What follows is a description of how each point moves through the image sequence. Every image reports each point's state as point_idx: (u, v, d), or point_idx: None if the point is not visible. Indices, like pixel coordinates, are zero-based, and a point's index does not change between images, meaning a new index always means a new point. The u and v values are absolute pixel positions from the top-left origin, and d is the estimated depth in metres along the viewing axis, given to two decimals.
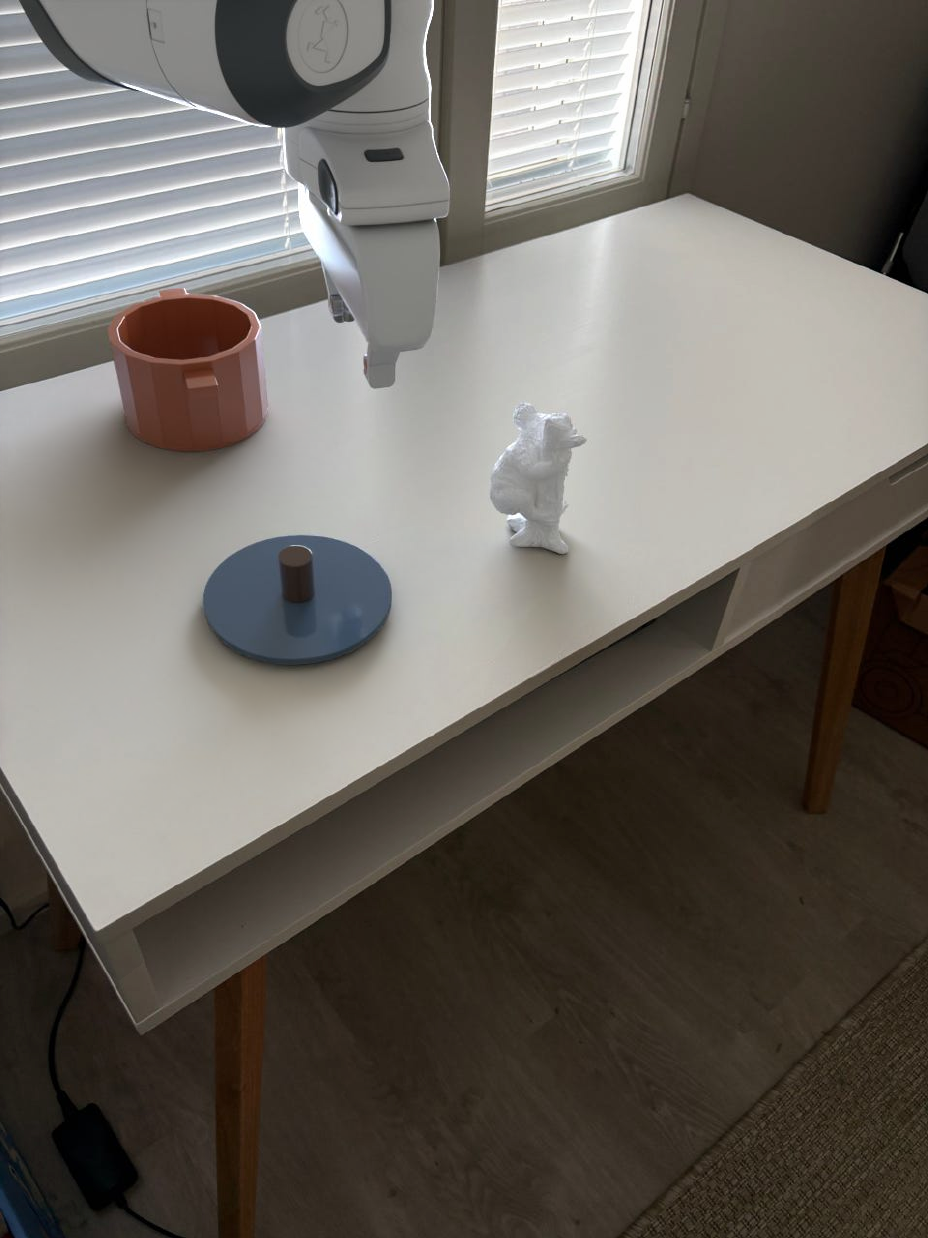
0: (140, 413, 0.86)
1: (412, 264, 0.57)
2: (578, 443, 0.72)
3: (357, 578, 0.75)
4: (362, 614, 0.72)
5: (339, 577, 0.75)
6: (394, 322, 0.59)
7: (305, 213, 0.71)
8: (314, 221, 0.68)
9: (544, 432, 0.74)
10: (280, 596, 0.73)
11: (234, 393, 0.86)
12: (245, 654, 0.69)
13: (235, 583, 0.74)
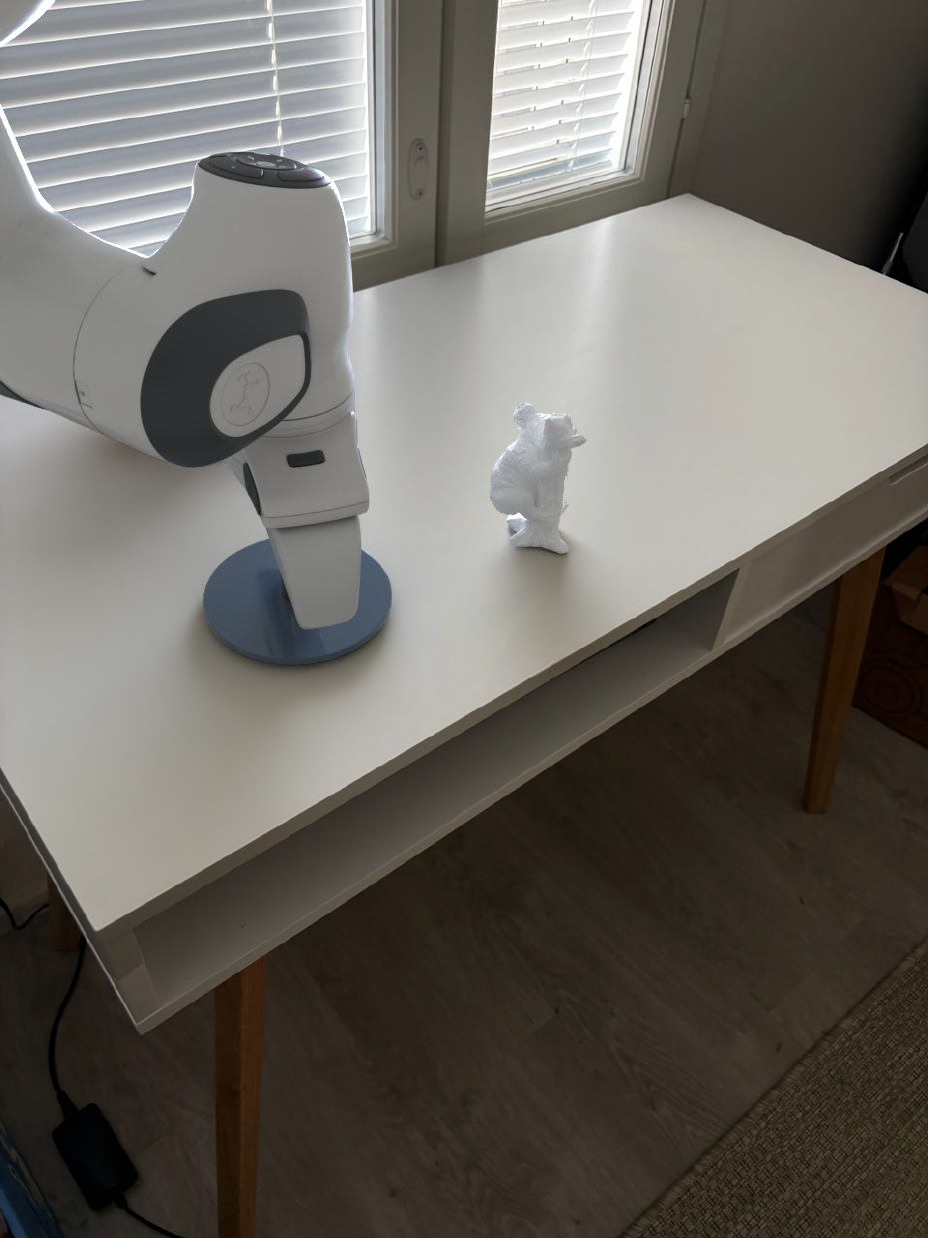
0: None
1: (334, 558, 0.60)
2: (578, 443, 0.72)
3: None
4: (362, 614, 0.72)
5: None
6: (318, 607, 0.62)
7: None
8: None
9: (544, 432, 0.74)
10: (280, 596, 0.73)
11: None
12: (245, 654, 0.69)
13: (235, 583, 0.74)
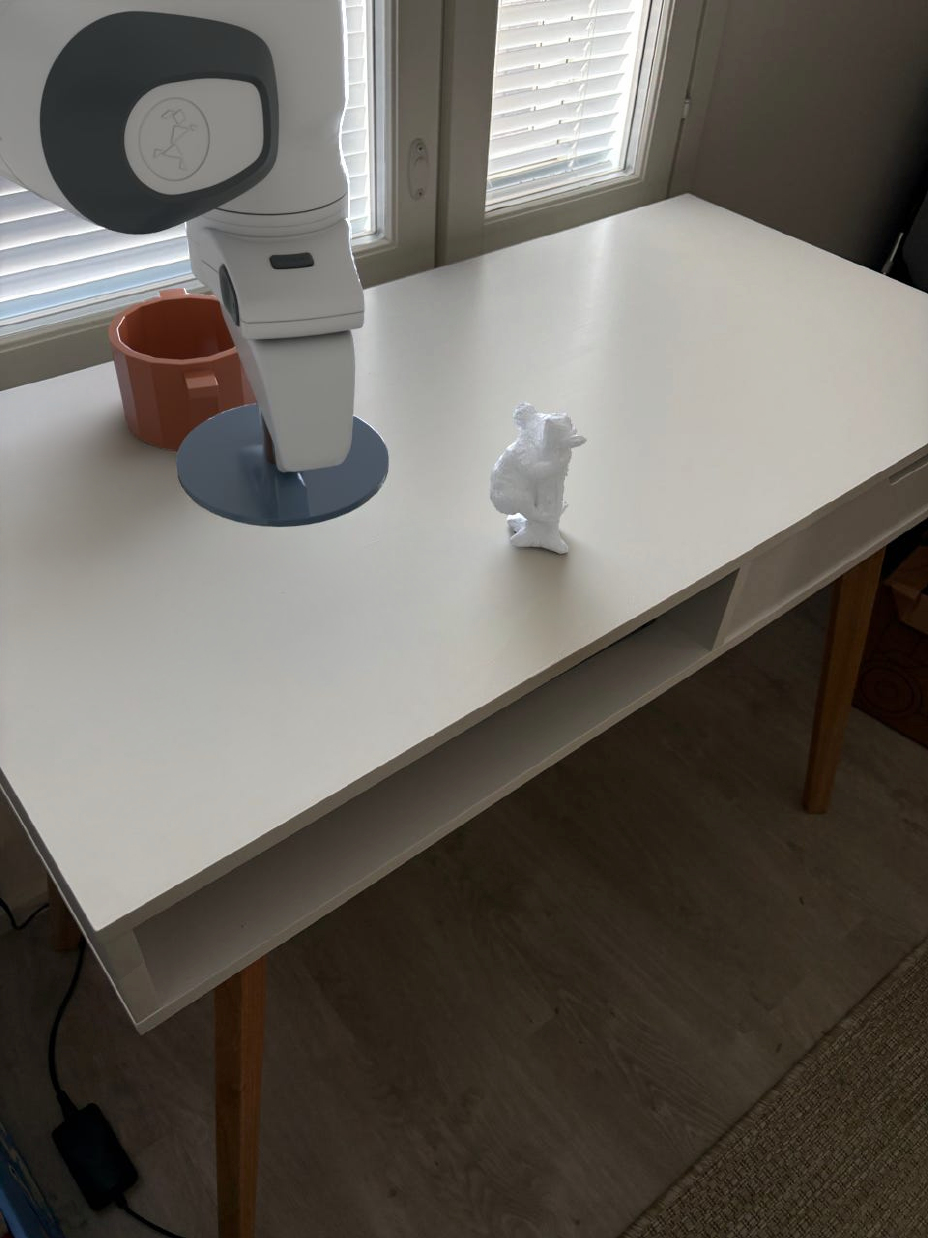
0: (140, 413, 0.86)
1: (324, 380, 0.52)
2: (578, 443, 0.72)
3: None
4: (355, 477, 0.64)
5: None
6: (305, 441, 0.53)
7: None
8: None
9: (544, 432, 0.74)
10: (263, 459, 0.65)
11: (234, 393, 0.86)
12: (222, 515, 0.61)
13: (212, 445, 0.66)
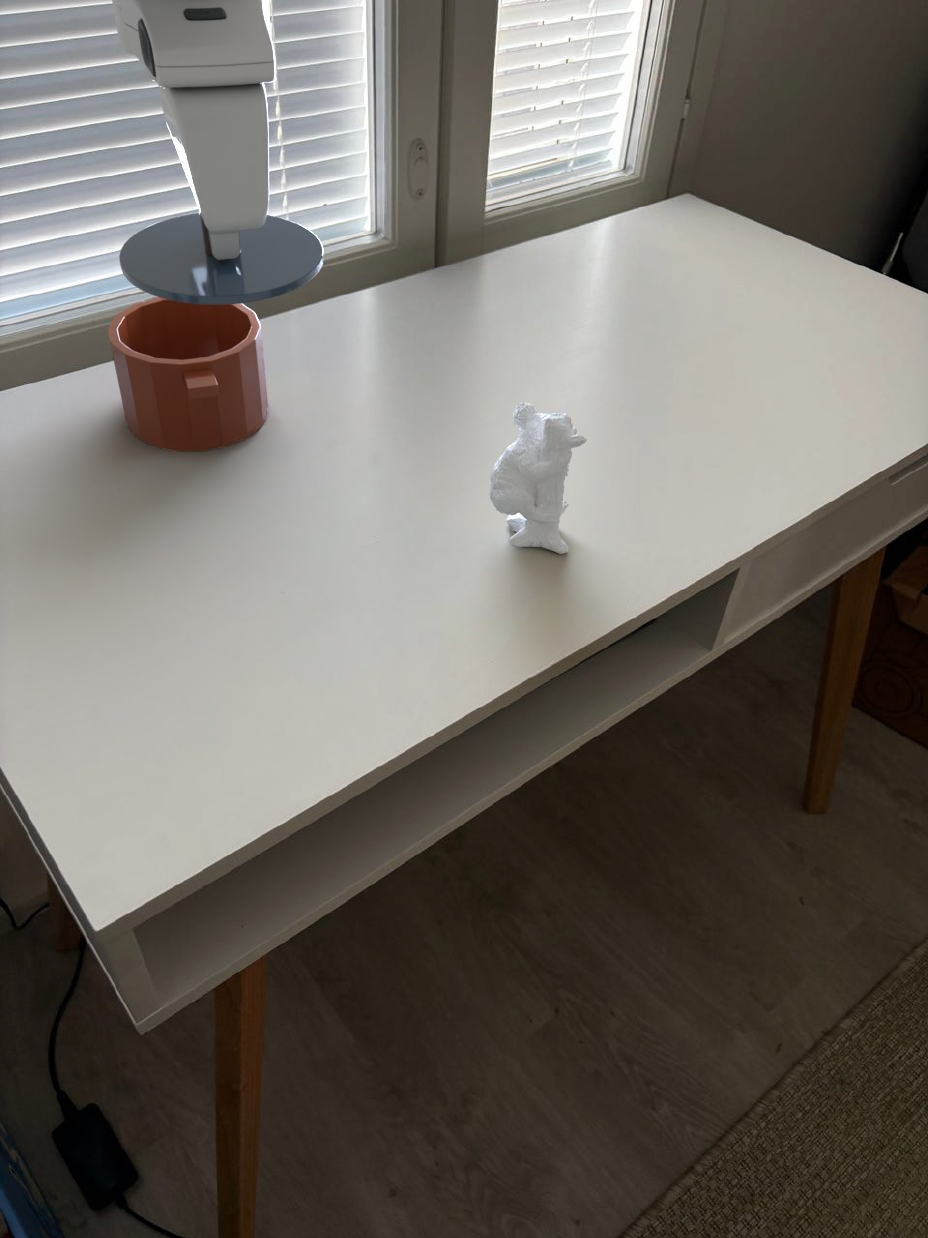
0: (140, 413, 0.86)
1: (237, 130, 0.55)
2: (578, 443, 0.72)
3: (287, 242, 0.70)
4: (289, 267, 0.67)
5: (268, 241, 0.70)
6: (223, 195, 0.57)
7: (164, 103, 0.68)
8: (168, 108, 0.66)
9: (544, 432, 0.74)
10: (203, 252, 0.68)
11: (234, 393, 0.86)
12: (159, 294, 0.65)
13: (155, 242, 0.69)
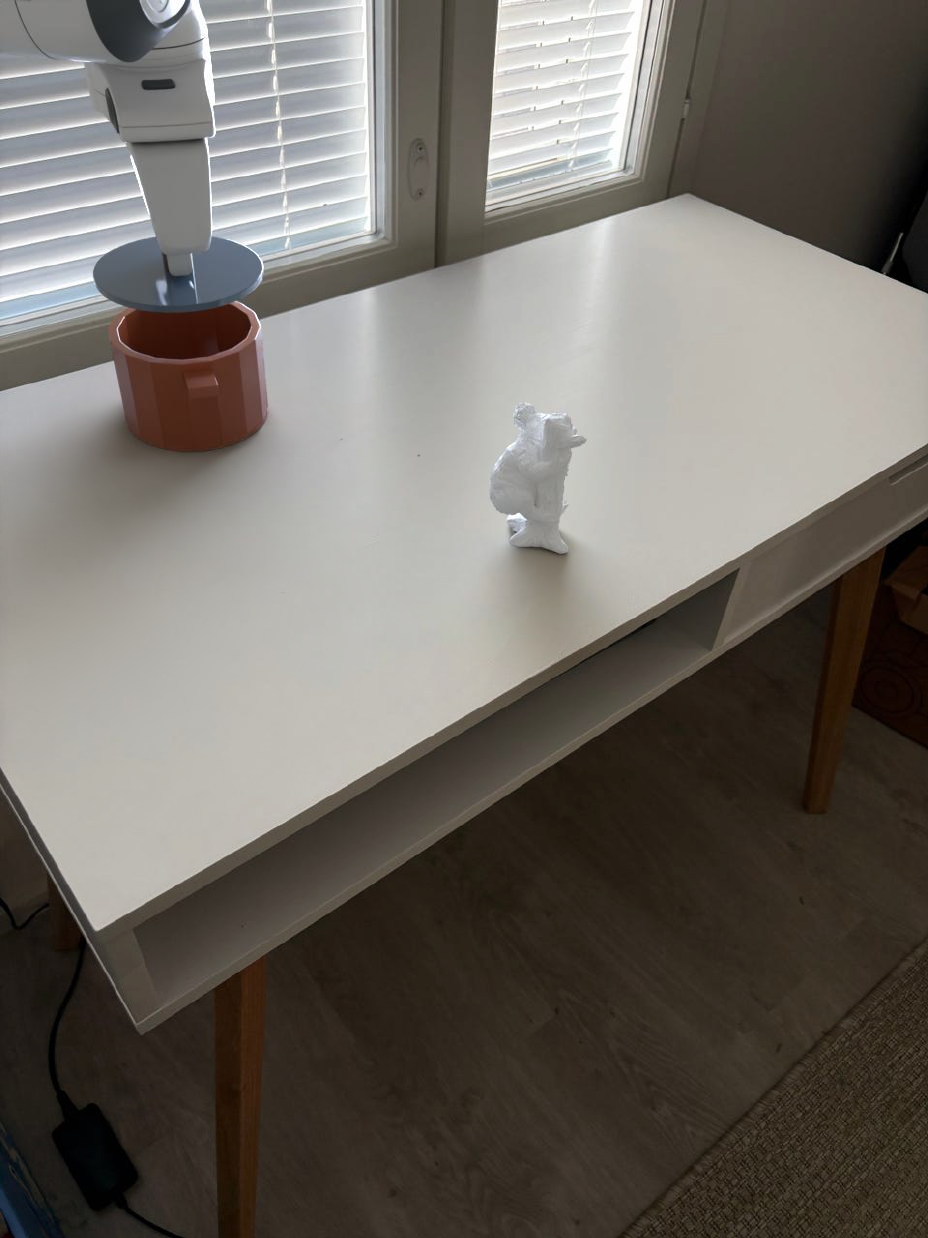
0: (140, 413, 0.86)
1: (185, 176, 0.69)
2: (578, 443, 0.72)
3: (233, 260, 0.85)
4: (233, 281, 0.82)
5: (217, 259, 0.84)
6: (174, 226, 0.71)
7: None
8: None
9: (544, 432, 0.74)
10: (162, 269, 0.83)
11: (234, 393, 0.86)
12: (125, 304, 0.79)
13: (123, 260, 0.83)
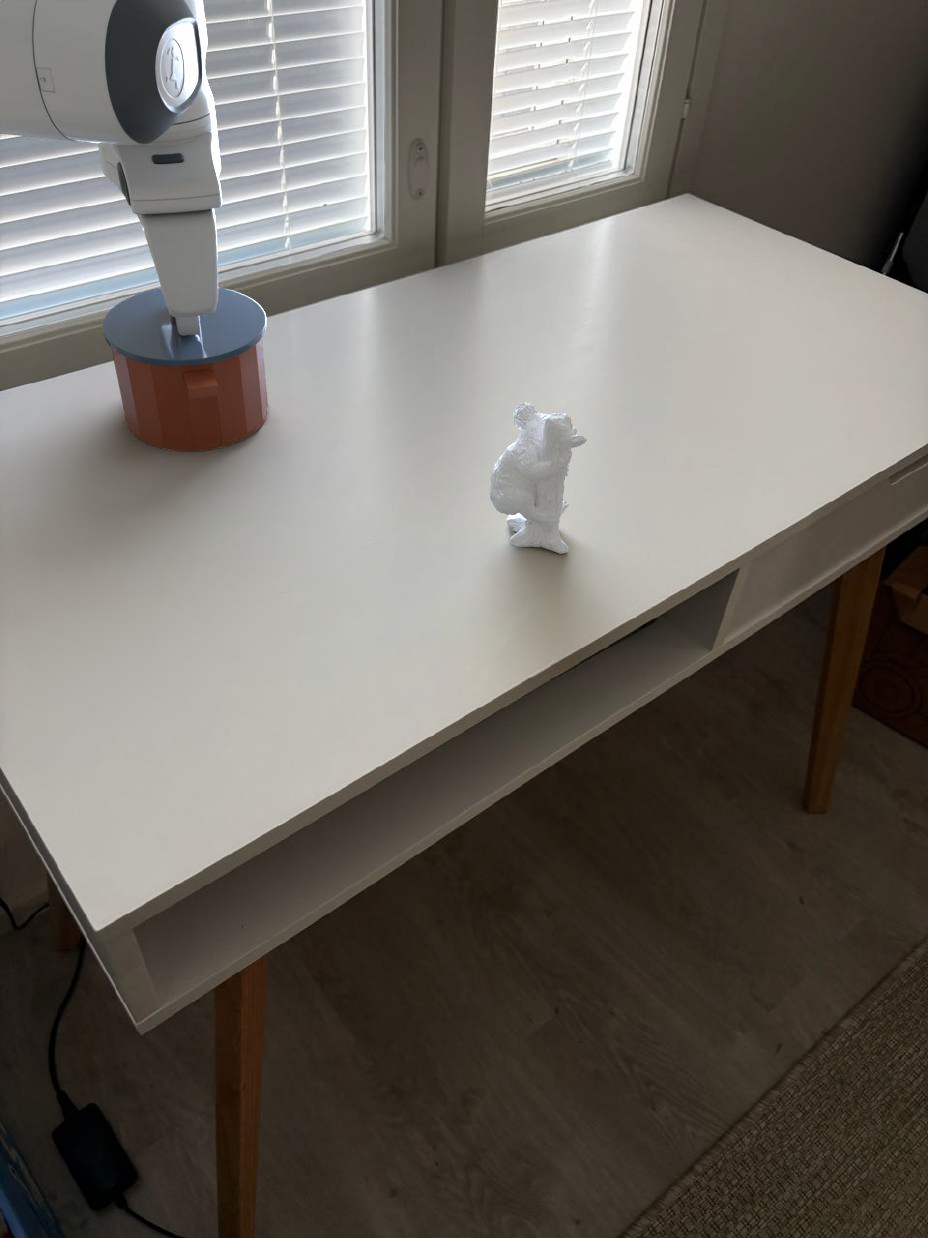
0: (140, 413, 0.86)
1: (193, 245, 0.73)
2: (578, 443, 0.72)
3: (238, 312, 0.88)
4: (238, 334, 0.85)
5: (222, 312, 0.88)
6: (183, 291, 0.74)
7: None
8: None
9: (544, 432, 0.74)
10: (169, 322, 0.86)
11: (234, 393, 0.86)
12: (134, 358, 0.82)
13: (132, 313, 0.87)
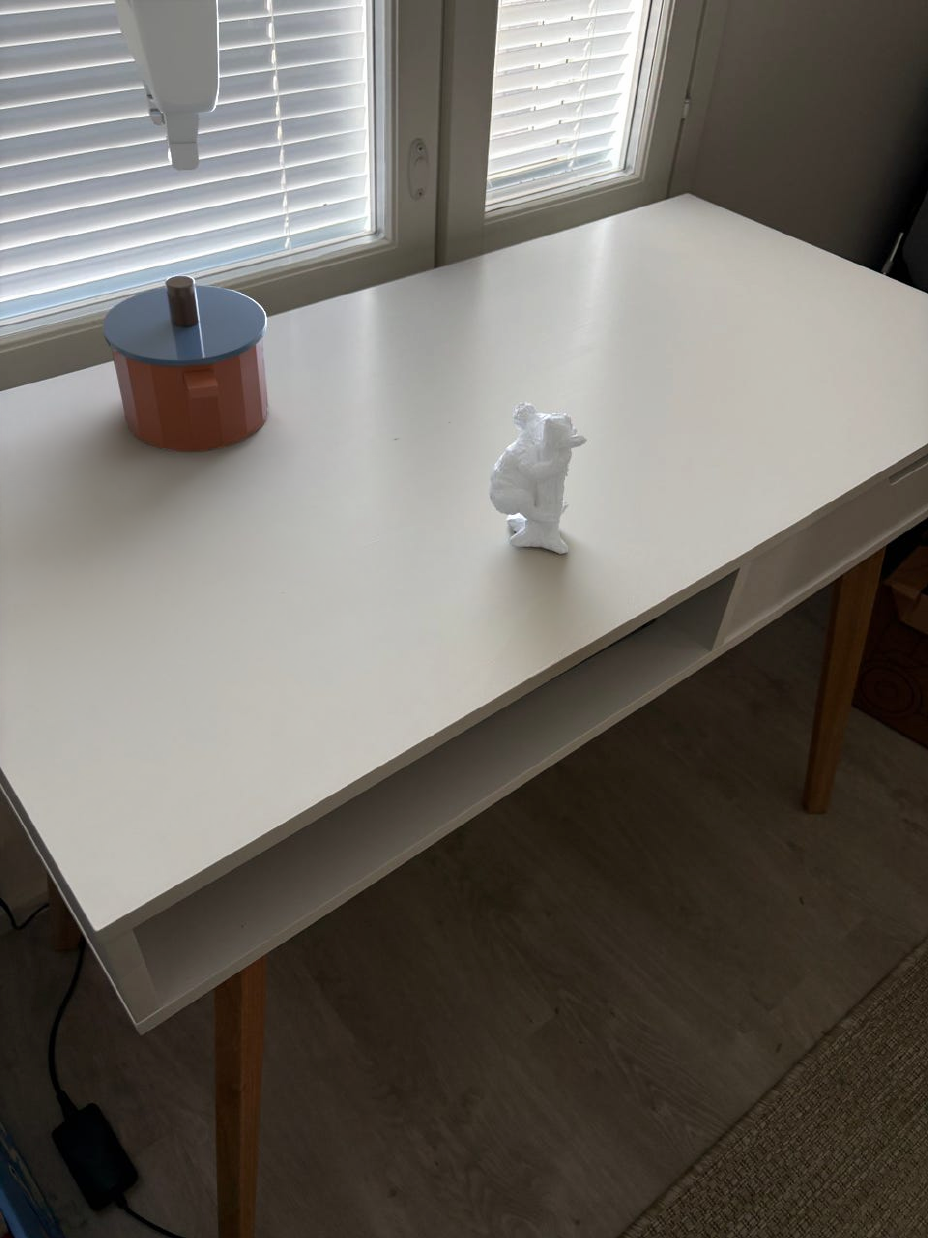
0: (140, 413, 0.86)
1: (188, 11, 0.58)
2: (578, 443, 0.72)
3: (238, 312, 0.88)
4: (238, 334, 0.85)
5: (222, 312, 0.88)
6: (175, 75, 0.59)
7: (118, 8, 0.71)
8: (122, 9, 0.69)
9: (544, 432, 0.74)
10: (169, 322, 0.86)
11: (234, 393, 0.86)
12: (134, 358, 0.82)
13: (132, 313, 0.87)
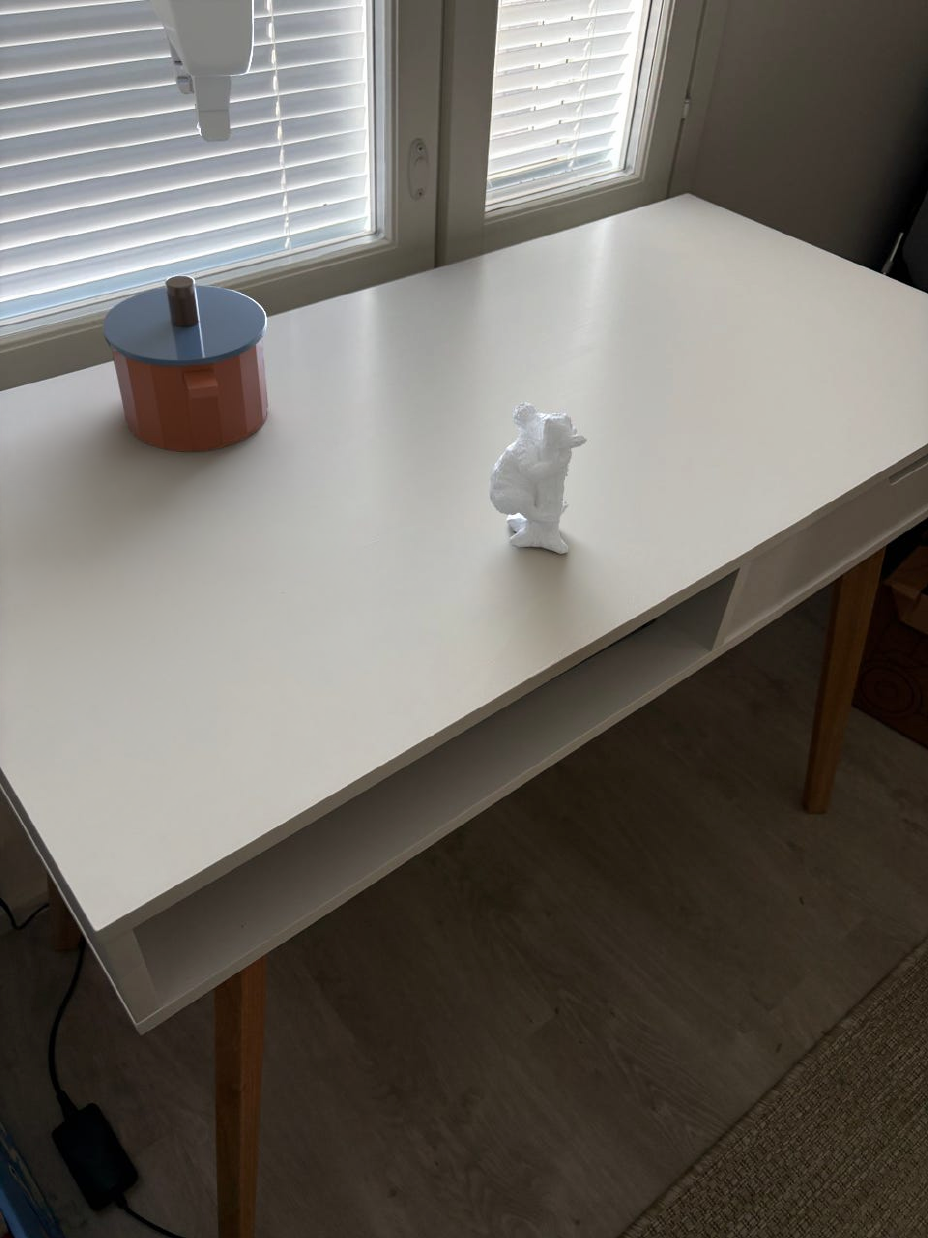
0: (140, 413, 0.86)
1: None
2: (578, 443, 0.72)
3: (238, 312, 0.88)
4: (238, 334, 0.85)
5: (222, 312, 0.88)
6: (205, 32, 0.53)
7: None
8: None
9: (544, 432, 0.74)
10: (169, 322, 0.86)
11: (234, 393, 0.86)
12: (134, 358, 0.82)
13: (132, 313, 0.87)
